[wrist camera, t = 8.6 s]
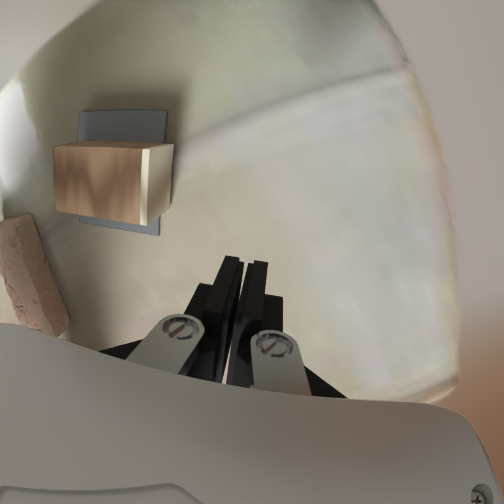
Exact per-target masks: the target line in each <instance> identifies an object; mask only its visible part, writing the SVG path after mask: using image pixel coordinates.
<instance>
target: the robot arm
mask: <svg viewBox="0 0 504 504" xmlns="http://www.w3.org/2000/svg"><path fill="white" fill-rule="evenodd" d="M267 267H268V262H263V261H257V260H254V264H252V263H248V267H247V271H246V275H245V279H244V283H243V287H242V291H241V295H240V289H241V282H242V275H243V268H244V262H240V261H239V258H238V257H232V256H225V258H224V260H223V263H222V265H221V267H220V270H219V272H218V274H217V277H216V279H215V281H214V283H213V285H209V284H203V283H200V284H199V285H198V287H197V289H196V291H195V293H194V295H193V297H192V299H191V301H190V303H189V305H188V307H187V308H186V310H185V312H184V314H174V315H169V316H167V317H164V318H163V319H162V320H160V321H159V322H158V323H157V325H156V326H155V327H154V328H153V329H152V330H151V331H150V332H149V334H148V335H147V336H146V337H145V338H144V339H142V340H138V341H135V342H131V343H127V344H124V345H120V346H116V347H113V348H109V349H105V350H101V351H98V352H97V351H94V350H91V349H88V348H85V347H82V346H80V345H77V344H74V343H71V342H69V341H66V340H63V339H60V338H58V337H55V336H52V335H49V334H46V333H44V332H41V331H38V330H35V329H32V328H28V327H25V326H20V325H15V324H6V323H0V504H504V499H503V496H502V492H501V489H500V485H499V482H498V479H497V476H496V474H495V471H494V468H493V466H492V463H491V460H490V458H489V455H488V453H487V451H486V449H485V447H484V445H483V443H482V441H481V439H480V437H479V435H478V433H477V432H476V430H475V429H474V427H473V426H472V424H471V423H470V422H469V421H468V420H467V419H466V418H465V417H464V416H463V415H461V414H459V413H458V412H456V411H453V410H451V409H448V408H445V407H441V406H438V405H434V404H428V403H422V402H412V401H393V400H369V399H348V398H347V397H345V396H344V395H343V394H341V393H340V392H339V391H337V390H336V389H335V388H333V387H332V386H331V385H329V384H328V383H327V382H325V381H324V380H322V379H321V378H320V377H319V376H317V375H316V374H315V373H313V372H312V371H311V370H309V369H308V368H307V367H305V366H304V365H303V361H302V357H301V354H300V350H299V347H298V344H297V342H296V341H295V340H294V339H293V338H292V337H291V336H289V335H288V334H286V333H283V297H280V296H274V295H267V294H265V286H266V277H267ZM239 296H240V299H239ZM231 341H232V343H231ZM230 345H231V351H230V358H229V366H228V373H227V381H226V384H221V383H222V379H223V375H224V371H225V367H226V362H227V358H228V354H229V350H230Z"/></svg>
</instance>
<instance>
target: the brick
mask: <svg viewBox="0 0 504 504" xmlns="http://www.w3.org/2000/svg"><path fill="white" fill-rule="evenodd" d="M0 273H1V275H2V276H3V278H4V281H5V285H6V290H7V293H8V295H9V297H10V299H11V301H12V304H13V307H14V311H15V313H16V316H17V318H18V321H19V323H20V325H21V326H25V327H28V328H32V329H35V330H38V331H41V332H44V333H46V334H49V335H52V336H55V337H58V336H60V335H61V334H62V333H63V331H64V330H65V328H66V327H67V325H68V324H69V322H70V319H69V315H68V312H67V309H66V306H65V304H64V303H63V301H62V296H61V294H60V293H59V290H58V287H57V284H56V282H55V279H54V276H53V274H52V272H51V269H50V266H49V264H48V261H47V258H46V255H45V252H44V250H43V247H42V243H41V239H40V237H39V234H38V231H37V229H36V225H35V222H34V218H33V216H32V215H31V214H28V215H27V214H24V215H22V216H20V217H16V218H15V217H13V218H12V217H9V218H7V219H4V220H3V221H1V222H0Z"/></svg>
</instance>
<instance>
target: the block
mask: <svg viewBox="0 0 504 504" xmlns="http://www.w3.org/2000/svg"><path fill="white" fill-rule="evenodd" d="M173 150H174V144H165V143H150V142H130V141H80V142H75V143H70V144H65V145H60V146H55V147H54V153H53V162H54V194H55V209H56V211H58V212H64V213H70V214H77V215H83V216H89V217H96V218H102V219H108V220H114V221H120V222H127V223H133V224H139V225H145V226H147V225H149V224H150V223H151V222H152V221H154V220H155V219H156V218H157V217H159V216H160V215H161V214H163V213H164V212H165V211H167V210H168V209H169V208H170V191H171V175H172V162H173Z"/></svg>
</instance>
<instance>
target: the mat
mask: <svg viewBox="0 0 504 504" xmlns="http://www.w3.org/2000/svg"><path fill="white" fill-rule="evenodd" d="M166 119H167V111H158V110H115V111H90V112H79V126H78V142H80V141H130V142H150V143H164V140H165V129H166ZM79 222H80V223H86V224H92V225H98V226H103V227H109V228H115V229H121V230H126V231H132V232H138V233H144V234H149V235H155V236H159V235H160V216H159V217H157V218H156V219H155V220H154V221H152V222H151V223H150V224H149V225H147V226H145V225H139V224H133V223H127V222H120V221H114V220H108V219H102V218H96V217H89V216H83V215H79Z"/></svg>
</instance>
